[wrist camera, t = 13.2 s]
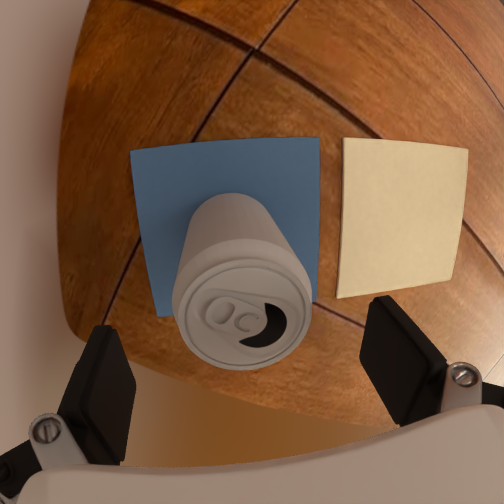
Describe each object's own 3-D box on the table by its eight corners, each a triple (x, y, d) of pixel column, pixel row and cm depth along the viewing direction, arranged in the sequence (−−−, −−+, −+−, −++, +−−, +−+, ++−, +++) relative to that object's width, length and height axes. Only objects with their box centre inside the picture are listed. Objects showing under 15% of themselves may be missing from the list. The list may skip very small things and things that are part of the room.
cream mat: (335, 296, 28) (337, 298, 27) (342, 137, 22) (344, 137, 22) (448, 277, 29) (450, 279, 28) (465, 148, 23) (468, 149, 23)
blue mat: (157, 314, 26) (157, 316, 26) (130, 150, 21) (129, 150, 20) (315, 299, 27) (316, 301, 27) (318, 137, 22) (319, 137, 22)
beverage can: (246, 282, 25) (270, 391, 14) (174, 248, 24) (146, 348, 12) (287, 215, 24) (350, 292, 13) (213, 175, 22) (212, 221, 11)
